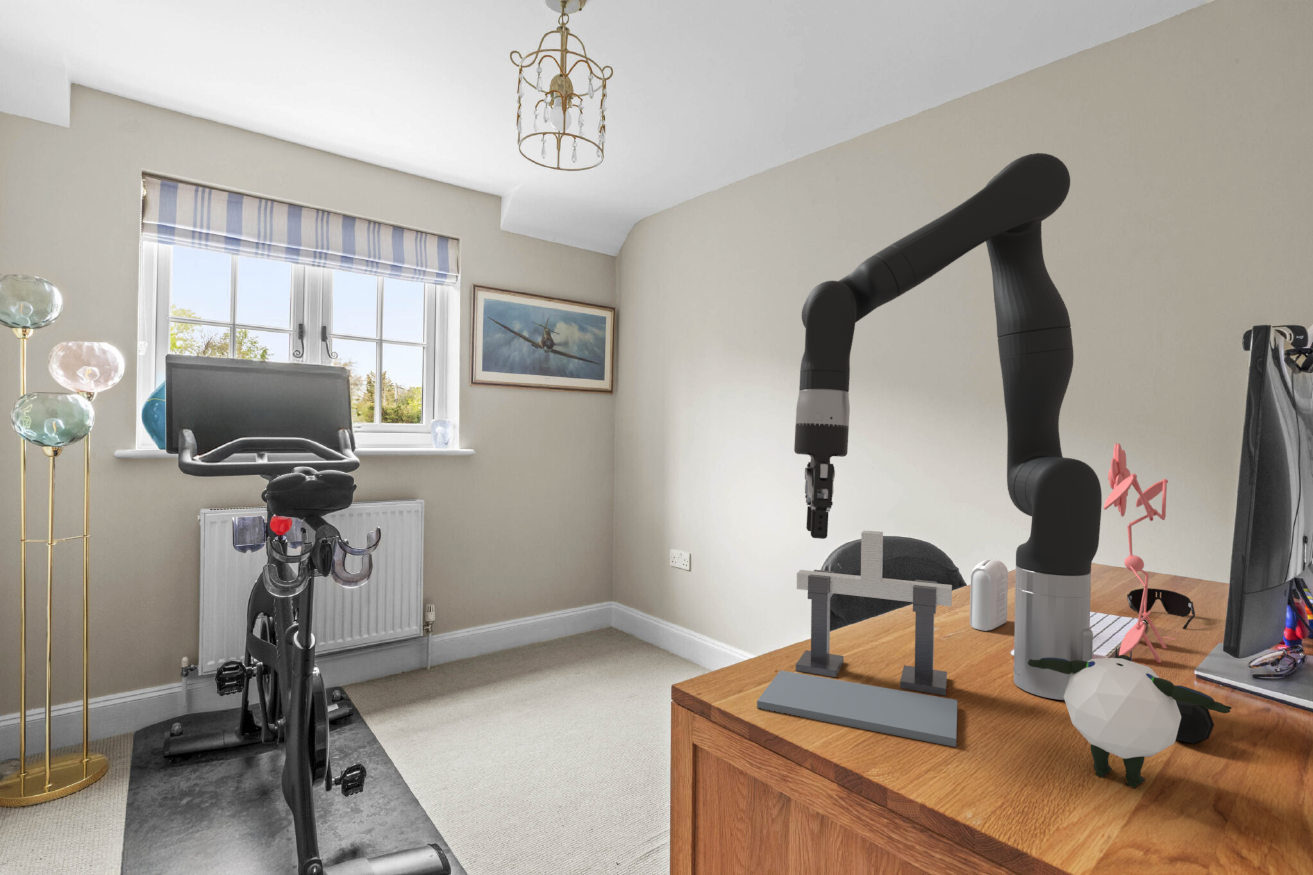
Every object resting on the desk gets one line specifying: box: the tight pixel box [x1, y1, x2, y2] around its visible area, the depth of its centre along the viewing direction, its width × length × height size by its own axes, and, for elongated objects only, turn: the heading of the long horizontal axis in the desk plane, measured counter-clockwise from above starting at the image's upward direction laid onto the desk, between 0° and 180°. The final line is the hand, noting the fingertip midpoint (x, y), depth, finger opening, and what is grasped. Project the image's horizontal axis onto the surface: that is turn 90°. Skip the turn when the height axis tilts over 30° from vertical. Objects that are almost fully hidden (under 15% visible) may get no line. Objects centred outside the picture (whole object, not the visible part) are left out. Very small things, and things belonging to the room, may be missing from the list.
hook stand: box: [795, 569, 948, 696], centre depth 99 cm, size 21×7×14 cm, turn 65°
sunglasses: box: [1126, 587, 1196, 630], centre depth 129 cm, size 10×12×5 cm
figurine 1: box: [1103, 443, 1176, 663], centre depth 113 cm, size 15×26×35 cm, turn 138°
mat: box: [756, 670, 958, 748], centre depth 87 cm, size 24×12×1 cm, turn 65°
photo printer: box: [969, 558, 1009, 632], centre depth 124 cm, size 10×4×12 cm, turn 134°
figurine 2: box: [1028, 647, 1233, 789], centre depth 71 cm, size 18×10×13 cm, turn 44°
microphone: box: [1175, 701, 1215, 745], centre depth 85 cm, size 6×6×20 cm
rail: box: [796, 530, 953, 607], centre depth 99 cm, size 22×2×10 cm, turn 65°
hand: (816, 534), depth 95 cm, fingers open, 8 cm apart
